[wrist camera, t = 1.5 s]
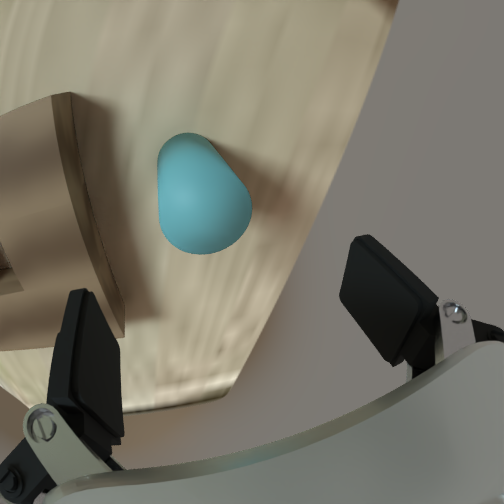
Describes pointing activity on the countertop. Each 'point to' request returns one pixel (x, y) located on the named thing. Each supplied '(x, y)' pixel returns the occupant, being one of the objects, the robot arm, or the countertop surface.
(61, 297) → the socket block
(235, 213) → the dowel peg
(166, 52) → the countertop surface
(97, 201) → the countertop surface
